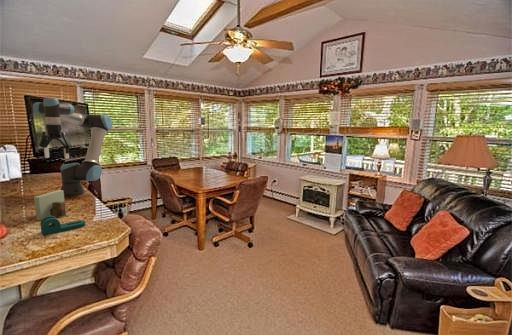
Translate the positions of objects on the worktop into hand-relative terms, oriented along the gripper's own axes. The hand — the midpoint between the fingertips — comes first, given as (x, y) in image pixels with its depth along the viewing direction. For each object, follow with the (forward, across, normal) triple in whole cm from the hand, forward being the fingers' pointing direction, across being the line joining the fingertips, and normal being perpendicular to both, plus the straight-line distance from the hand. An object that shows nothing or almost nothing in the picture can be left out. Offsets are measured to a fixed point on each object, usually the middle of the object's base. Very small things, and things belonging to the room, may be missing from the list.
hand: (57, 158), depth 166 cm
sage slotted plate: (+31, +9, -18) cm, 37 cm away
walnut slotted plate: (+31, +9, -18) cm, 37 cm away
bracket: (+31, +33, -35) cm, 57 cm away
